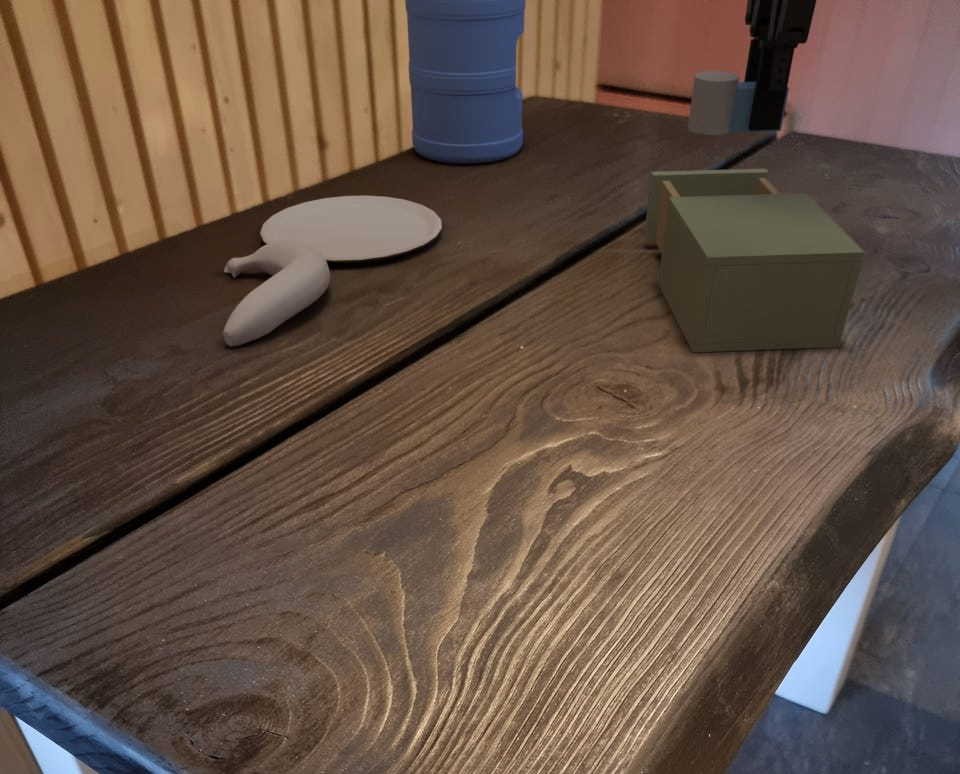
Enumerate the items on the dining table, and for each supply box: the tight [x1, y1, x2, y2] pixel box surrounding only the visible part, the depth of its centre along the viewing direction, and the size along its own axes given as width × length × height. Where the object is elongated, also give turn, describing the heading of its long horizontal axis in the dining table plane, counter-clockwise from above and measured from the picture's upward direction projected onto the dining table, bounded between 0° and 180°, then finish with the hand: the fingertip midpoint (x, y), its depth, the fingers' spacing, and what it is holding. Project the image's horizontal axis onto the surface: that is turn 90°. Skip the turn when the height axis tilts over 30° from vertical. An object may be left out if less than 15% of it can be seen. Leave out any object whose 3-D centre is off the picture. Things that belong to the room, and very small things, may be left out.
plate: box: [259, 195, 443, 264], centre depth 106 cm, size 21×21×1 cm
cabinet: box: [657, 192, 865, 353], centre depth 87 cm, size 16×14×9 cm
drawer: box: [643, 168, 781, 254], centre depth 97 cm, size 19×12×7 cm, turn 3°
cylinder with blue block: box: [687, 70, 790, 136], centre depth 85 cm, size 8×4×4 cm, turn 94°
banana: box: [221, 241, 331, 348], centre depth 91 cm, size 5×19×15 cm
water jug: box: [404, 0, 527, 165], centre depth 122 cm, size 16×16×28 cm
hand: (758, 123), depth 87 cm, fingers closed on cylinder with blue block, 3 cm apart
